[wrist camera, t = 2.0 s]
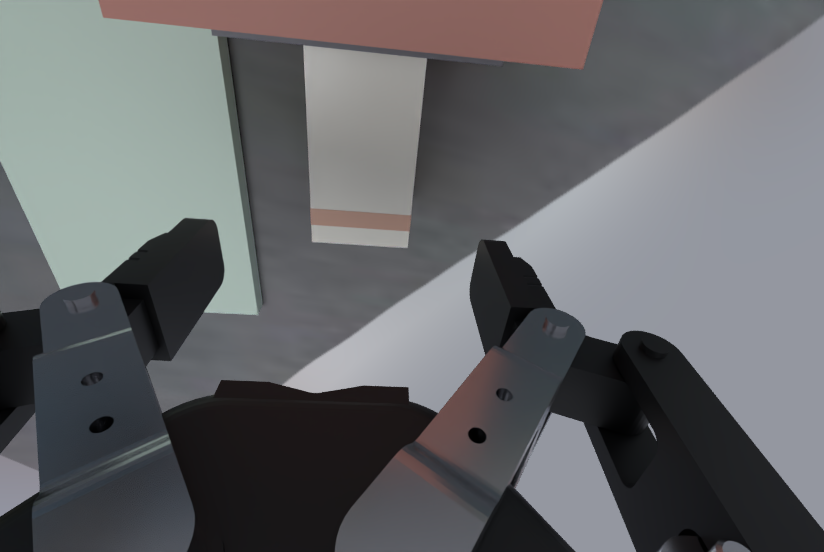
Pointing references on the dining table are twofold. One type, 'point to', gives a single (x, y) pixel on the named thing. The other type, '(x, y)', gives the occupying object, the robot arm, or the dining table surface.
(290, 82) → the dining table surface
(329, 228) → the white pink-banded block
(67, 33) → the stub board
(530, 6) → the salmon pink box
